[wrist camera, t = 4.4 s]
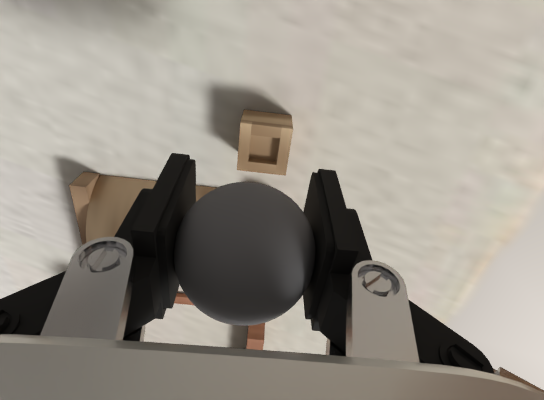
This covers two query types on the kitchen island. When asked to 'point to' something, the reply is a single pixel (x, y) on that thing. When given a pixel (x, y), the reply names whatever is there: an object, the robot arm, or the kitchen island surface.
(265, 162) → the tee
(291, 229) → the ball
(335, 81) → the kitchen island surface
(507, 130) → the kitchen island surface
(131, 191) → the wooden roller rack
